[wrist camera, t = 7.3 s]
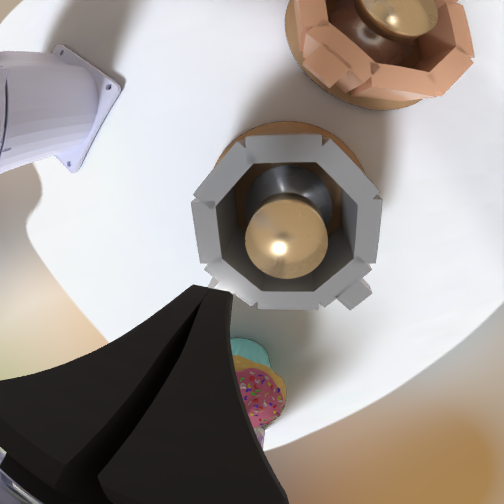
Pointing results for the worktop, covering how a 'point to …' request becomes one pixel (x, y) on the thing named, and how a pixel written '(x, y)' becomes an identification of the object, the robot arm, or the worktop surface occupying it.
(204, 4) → the worktop surface
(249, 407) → the cupcake
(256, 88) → the worktop surface
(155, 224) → the worktop surface
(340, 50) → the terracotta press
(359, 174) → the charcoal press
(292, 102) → the worktop surface
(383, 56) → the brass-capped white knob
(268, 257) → the brass-capped silver knob
